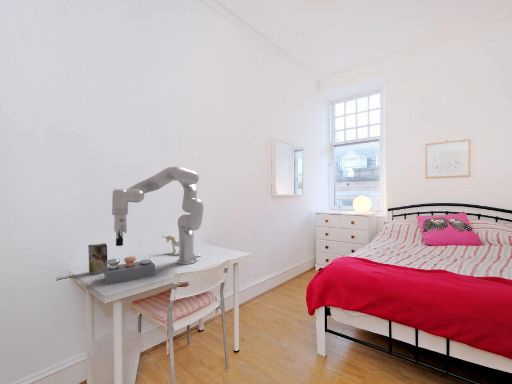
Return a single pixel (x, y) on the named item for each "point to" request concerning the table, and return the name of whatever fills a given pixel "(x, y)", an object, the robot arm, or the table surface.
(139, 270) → the box
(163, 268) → the table surface
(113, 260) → the steel plunger
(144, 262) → the steel plunger
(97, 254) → the coffee box
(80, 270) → the table surface
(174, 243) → the unicorn figurine
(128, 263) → the peach ball
